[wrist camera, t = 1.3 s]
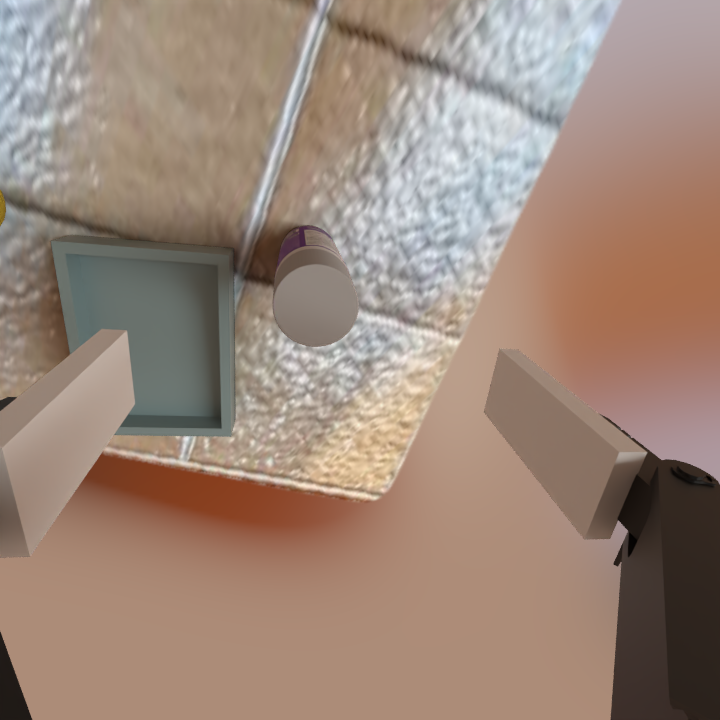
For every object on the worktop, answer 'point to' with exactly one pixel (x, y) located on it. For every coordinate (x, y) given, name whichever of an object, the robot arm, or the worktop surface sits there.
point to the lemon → (2, 208)
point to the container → (313, 289)
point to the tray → (158, 326)
